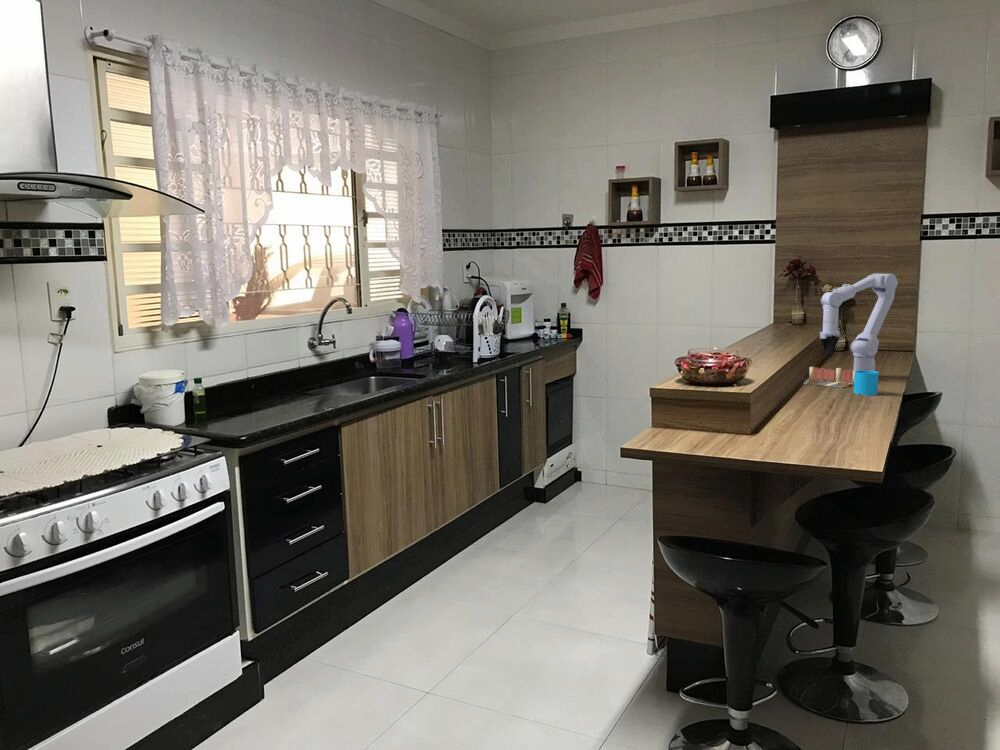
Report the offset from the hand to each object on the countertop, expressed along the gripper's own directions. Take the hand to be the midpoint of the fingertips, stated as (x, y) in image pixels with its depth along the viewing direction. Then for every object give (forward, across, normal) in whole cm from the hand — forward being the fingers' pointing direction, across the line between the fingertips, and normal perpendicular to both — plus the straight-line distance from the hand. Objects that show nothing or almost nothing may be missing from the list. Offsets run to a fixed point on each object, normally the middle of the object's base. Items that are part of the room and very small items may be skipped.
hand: (829, 354), depth 334 cm
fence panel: (+10, +6, 0) cm, 11 cm away
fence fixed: (+10, +6, +10) cm, 15 cm away
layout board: (+10, +6, +3) cm, 12 cm away
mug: (+11, +22, +24) cm, 34 cm away
